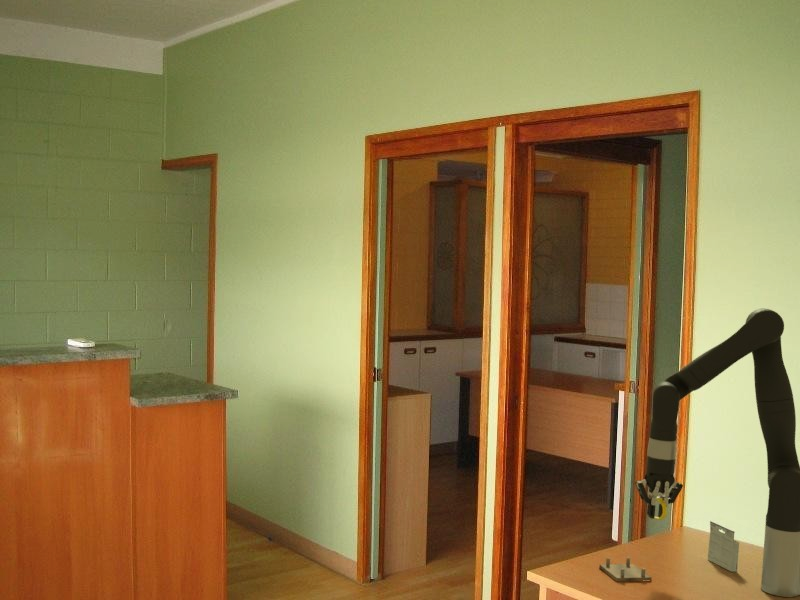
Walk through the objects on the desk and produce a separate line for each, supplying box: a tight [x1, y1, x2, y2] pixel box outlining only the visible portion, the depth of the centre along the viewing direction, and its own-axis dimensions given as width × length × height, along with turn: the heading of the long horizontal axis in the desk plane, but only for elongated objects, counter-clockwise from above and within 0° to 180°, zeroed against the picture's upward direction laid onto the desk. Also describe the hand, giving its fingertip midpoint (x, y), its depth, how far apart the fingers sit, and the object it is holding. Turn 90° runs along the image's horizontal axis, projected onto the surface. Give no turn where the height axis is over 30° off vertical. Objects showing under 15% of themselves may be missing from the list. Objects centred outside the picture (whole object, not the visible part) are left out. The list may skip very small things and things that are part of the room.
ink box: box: [707, 520, 740, 573], centre depth 266 cm, size 12×2×12 cm, turn 16°
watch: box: [646, 495, 668, 521], centre depth 255 cm, size 6×3×6 cm, turn 31°
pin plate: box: [598, 557, 653, 583], centre depth 253 cm, size 10×11×3 cm
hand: (656, 517), depth 255 cm, fingers closed on watch, 2 cm apart
